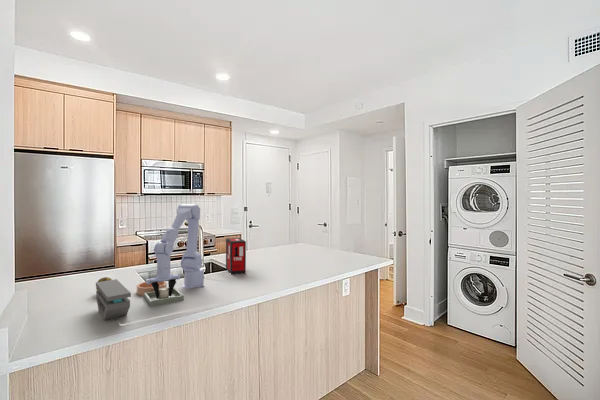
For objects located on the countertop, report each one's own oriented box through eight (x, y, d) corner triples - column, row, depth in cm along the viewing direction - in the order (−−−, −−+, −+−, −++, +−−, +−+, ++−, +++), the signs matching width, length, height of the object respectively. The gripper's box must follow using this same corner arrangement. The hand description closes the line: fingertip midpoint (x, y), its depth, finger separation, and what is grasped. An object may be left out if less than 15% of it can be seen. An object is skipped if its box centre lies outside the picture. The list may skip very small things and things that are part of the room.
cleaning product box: (245, 273, 193) (245, 241, 192) (231, 274, 189) (231, 242, 189) (239, 267, 208) (239, 237, 207) (225, 268, 204) (226, 238, 204)
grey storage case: (95, 307, 133) (95, 282, 133) (116, 303, 138) (116, 279, 138) (107, 326, 115) (107, 297, 114) (130, 320, 120) (130, 292, 120)
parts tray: (175, 293, 153) (175, 287, 153) (183, 301, 142) (183, 295, 142) (144, 298, 145) (144, 293, 145) (150, 307, 133) (150, 301, 133)
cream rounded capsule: (167, 296, 146) (167, 287, 146) (169, 298, 143) (169, 289, 143) (157, 298, 144) (157, 288, 144) (159, 300, 140) (159, 291, 140)
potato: (93, 300, 141) (93, 283, 141) (97, 292, 153) (97, 276, 153) (114, 298, 145) (114, 281, 145) (116, 290, 156) (116, 274, 156)
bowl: (162, 286, 163) (162, 279, 163) (169, 293, 153) (169, 285, 153) (135, 291, 155) (134, 283, 155) (139, 298, 145) (139, 289, 145)
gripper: (148, 271, 135) (148, 302, 136) (182, 267, 144) (182, 296, 144) (145, 268, 141) (145, 298, 141) (177, 264, 150) (177, 292, 150)
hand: (163, 296), depth 143 cm, fingers open, 5 cm apart
